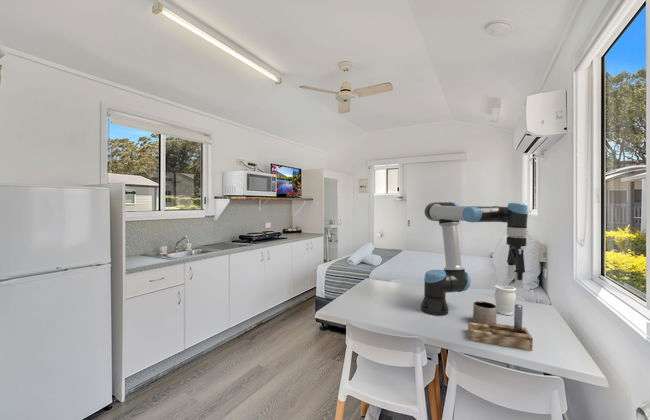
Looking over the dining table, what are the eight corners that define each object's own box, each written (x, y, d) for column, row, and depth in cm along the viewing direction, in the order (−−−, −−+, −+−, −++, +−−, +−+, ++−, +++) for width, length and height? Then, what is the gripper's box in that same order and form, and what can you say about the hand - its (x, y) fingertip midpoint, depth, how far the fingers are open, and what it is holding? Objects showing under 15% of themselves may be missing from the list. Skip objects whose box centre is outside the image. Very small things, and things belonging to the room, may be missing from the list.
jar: (518, 317, 159) (519, 290, 159) (498, 315, 161) (499, 289, 161) (510, 310, 169) (511, 285, 169) (491, 308, 171) (492, 283, 171)
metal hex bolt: (512, 341, 128) (513, 306, 128) (509, 336, 133) (510, 302, 132) (525, 343, 126) (526, 308, 126) (522, 338, 131) (523, 304, 130)
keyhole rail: (470, 340, 132) (470, 328, 132) (468, 330, 142) (468, 319, 142) (532, 350, 123) (532, 338, 123) (525, 339, 133) (525, 327, 133)
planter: (496, 328, 144) (496, 310, 144) (472, 323, 150) (472, 305, 149) (496, 321, 153) (496, 303, 153) (473, 316, 159) (474, 299, 159)
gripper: (535, 240, 116) (533, 292, 117) (518, 234, 139) (517, 276, 140) (513, 239, 119) (511, 289, 120) (501, 233, 142) (499, 275, 143)
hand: (514, 282), depth 130 cm, fingers open, 13 cm apart
